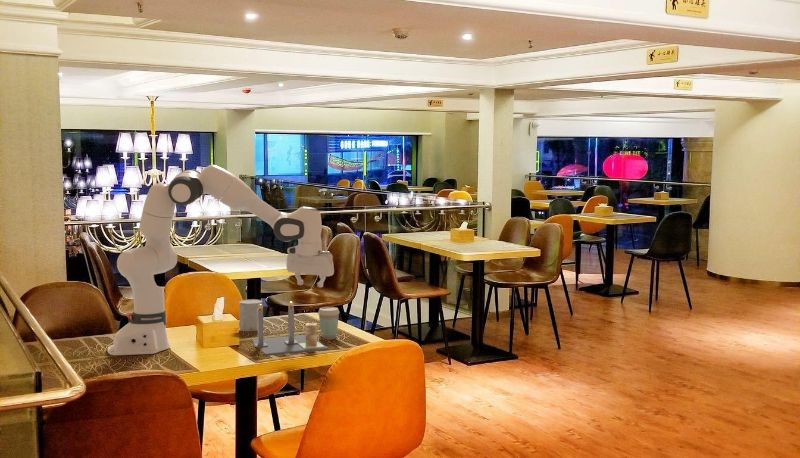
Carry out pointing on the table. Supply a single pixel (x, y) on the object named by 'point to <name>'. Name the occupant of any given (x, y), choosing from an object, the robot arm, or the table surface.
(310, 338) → the block
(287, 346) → the mat
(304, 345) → the pad
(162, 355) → the table surface
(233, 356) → the table surface
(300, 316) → the table surface
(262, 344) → the gate
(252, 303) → the grey canister
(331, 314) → the coffee cup
